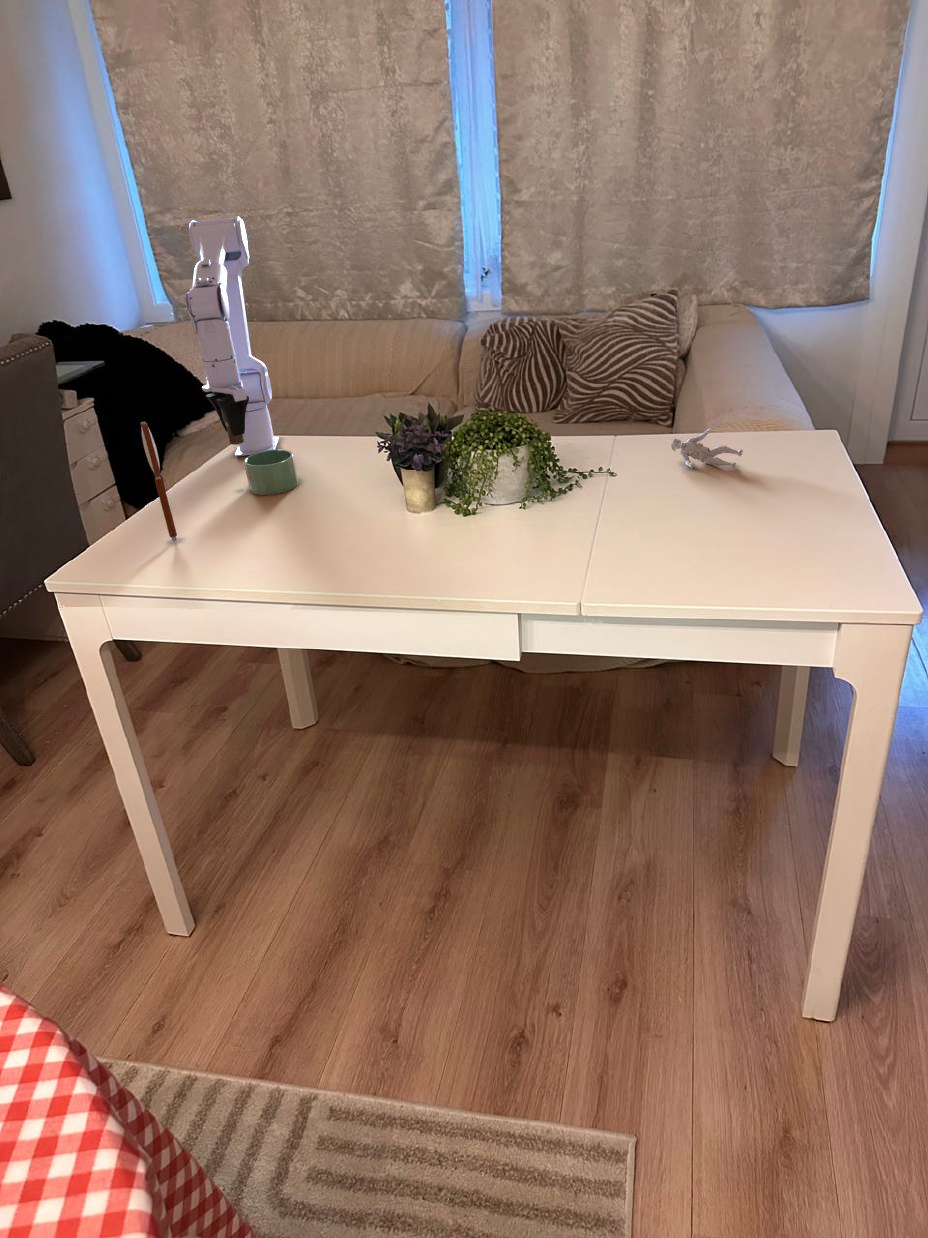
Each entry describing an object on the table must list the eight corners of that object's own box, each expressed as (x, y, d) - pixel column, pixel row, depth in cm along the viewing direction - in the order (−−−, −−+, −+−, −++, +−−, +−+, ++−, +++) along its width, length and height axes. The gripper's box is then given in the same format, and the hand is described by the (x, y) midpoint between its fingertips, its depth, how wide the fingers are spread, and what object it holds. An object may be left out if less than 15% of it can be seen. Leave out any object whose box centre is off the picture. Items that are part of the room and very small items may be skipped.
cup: (253, 480, 173) (247, 452, 170) (299, 475, 173) (294, 447, 170) (247, 497, 165) (241, 468, 162) (295, 491, 165) (290, 462, 163)
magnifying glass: (183, 549, 147) (151, 428, 137) (172, 552, 146) (140, 430, 136) (177, 531, 154) (146, 414, 144) (166, 533, 153) (135, 416, 143)
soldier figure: (726, 480, 155) (661, 453, 158) (725, 490, 159) (662, 463, 163) (747, 440, 155) (682, 414, 159) (745, 451, 160) (682, 425, 163)
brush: (229, 440, 171) (221, 403, 167) (246, 438, 171) (239, 401, 167) (227, 446, 168) (218, 408, 164) (244, 444, 168) (236, 406, 165)
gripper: (183, 356, 165) (200, 429, 172) (211, 368, 155) (228, 446, 161) (220, 348, 169) (236, 420, 175) (250, 360, 158) (265, 436, 164)
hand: (235, 432), depth 168 cm, fingers closed on brush, 3 cm apart
